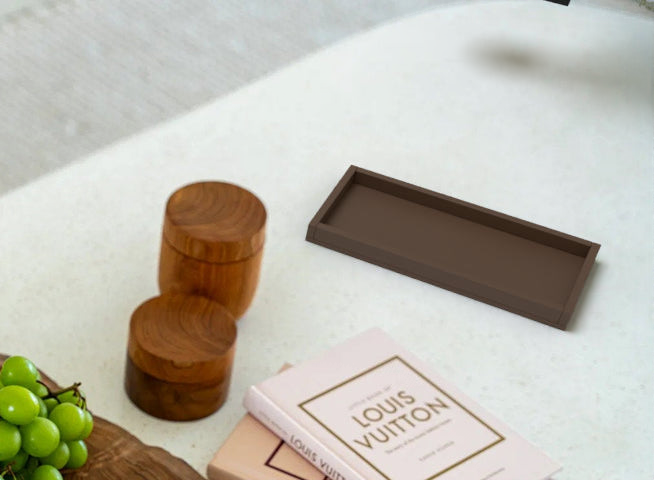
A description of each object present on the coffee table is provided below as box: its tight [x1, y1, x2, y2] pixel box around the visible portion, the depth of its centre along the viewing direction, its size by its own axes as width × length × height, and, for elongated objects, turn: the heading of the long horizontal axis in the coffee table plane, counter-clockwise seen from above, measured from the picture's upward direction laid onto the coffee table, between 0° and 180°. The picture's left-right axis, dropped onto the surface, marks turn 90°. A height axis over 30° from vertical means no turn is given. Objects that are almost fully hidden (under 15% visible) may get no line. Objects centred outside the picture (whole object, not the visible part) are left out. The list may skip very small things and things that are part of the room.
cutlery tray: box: [304, 164, 602, 331], centre depth 111 cm, size 25×12×2 cm, turn 59°
